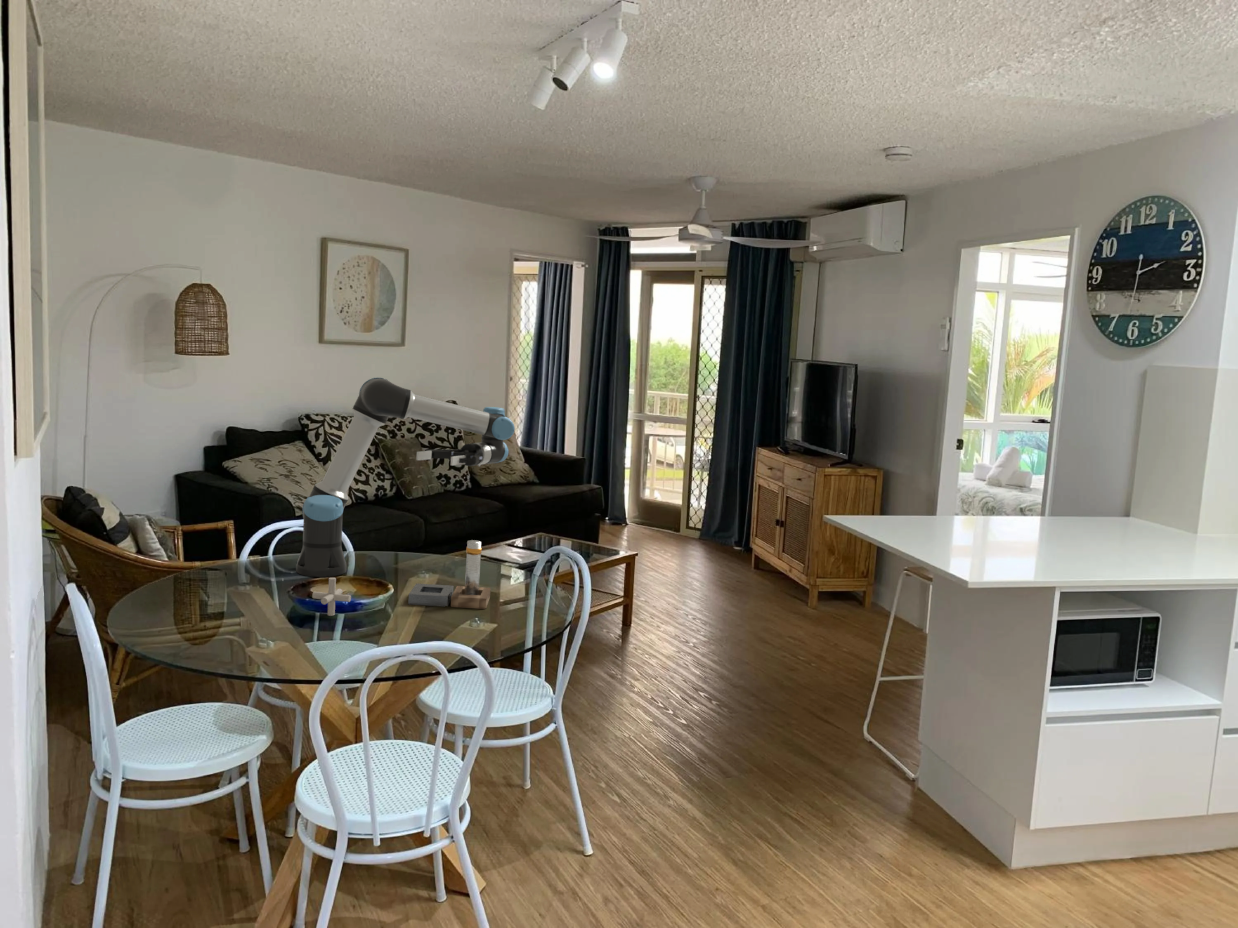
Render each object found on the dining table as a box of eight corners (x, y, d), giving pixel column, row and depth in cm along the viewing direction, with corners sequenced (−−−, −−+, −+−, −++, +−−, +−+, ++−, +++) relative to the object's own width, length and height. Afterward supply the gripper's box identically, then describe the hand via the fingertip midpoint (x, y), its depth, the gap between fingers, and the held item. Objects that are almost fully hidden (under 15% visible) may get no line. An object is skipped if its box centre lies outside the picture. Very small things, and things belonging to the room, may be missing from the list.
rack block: (450, 606, 261) (451, 596, 261) (456, 595, 273) (456, 585, 272) (485, 608, 261) (486, 598, 261) (489, 597, 273) (490, 587, 273)
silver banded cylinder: (462, 603, 265) (465, 542, 263) (464, 599, 269) (467, 539, 267) (477, 604, 265) (481, 543, 263) (479, 600, 269) (482, 540, 267)
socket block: (408, 604, 260) (408, 594, 260) (415, 593, 272) (416, 583, 272) (447, 606, 261) (447, 596, 261) (452, 595, 273) (453, 585, 272)
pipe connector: (356, 611, 250) (357, 575, 249) (341, 621, 240) (343, 584, 239) (320, 607, 251) (322, 572, 250) (305, 618, 241) (306, 581, 240)
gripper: (504, 469, 302) (465, 475, 284) (444, 461, 314) (403, 465, 295) (506, 447, 301) (467, 451, 283) (445, 439, 313) (404, 442, 294)
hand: (434, 458), depth 289 cm, fingers open, 13 cm apart
